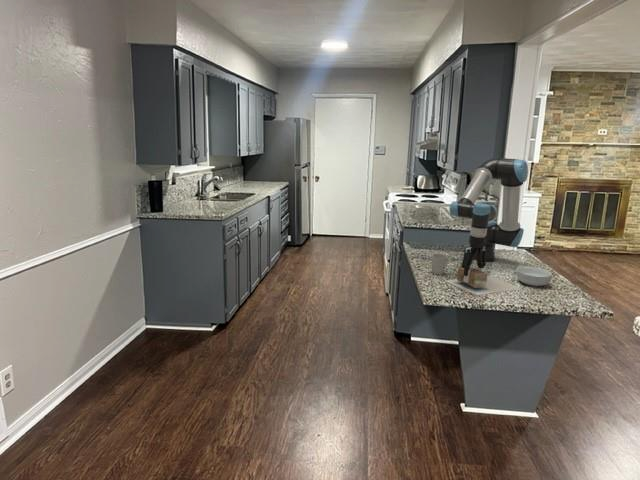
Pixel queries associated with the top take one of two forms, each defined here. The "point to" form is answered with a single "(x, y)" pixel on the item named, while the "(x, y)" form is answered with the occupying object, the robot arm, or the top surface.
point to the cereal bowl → (533, 276)
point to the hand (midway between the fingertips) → (471, 280)
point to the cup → (438, 263)
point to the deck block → (473, 277)
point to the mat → (490, 287)
